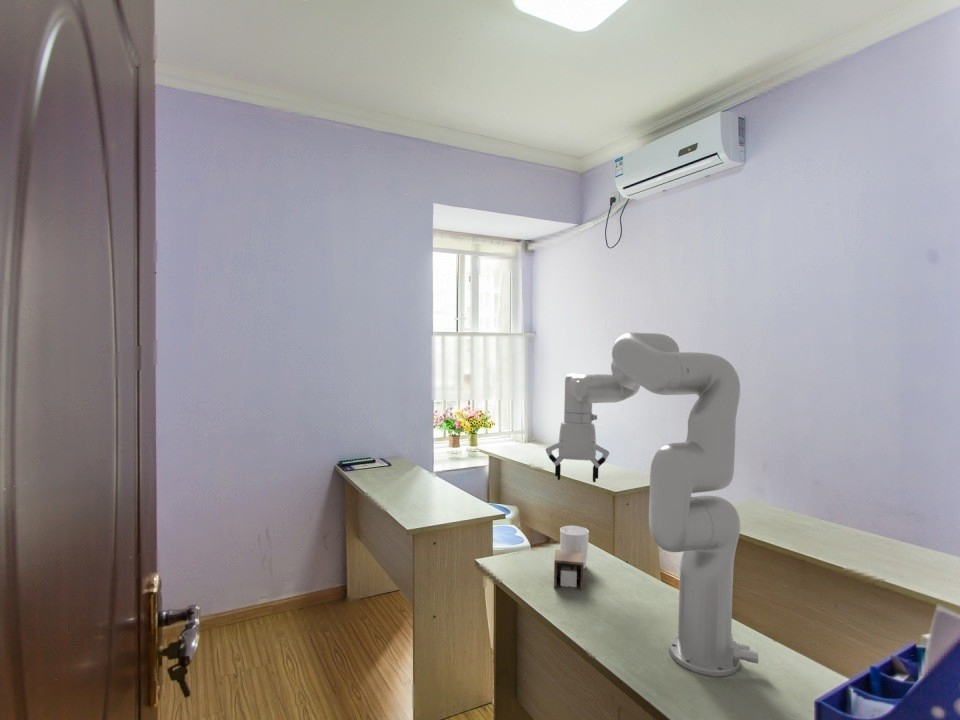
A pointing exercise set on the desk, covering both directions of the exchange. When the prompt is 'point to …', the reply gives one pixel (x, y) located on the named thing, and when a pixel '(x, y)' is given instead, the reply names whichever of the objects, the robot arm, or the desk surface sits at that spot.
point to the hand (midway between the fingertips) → (576, 479)
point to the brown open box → (568, 559)
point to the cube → (568, 575)
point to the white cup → (574, 540)
